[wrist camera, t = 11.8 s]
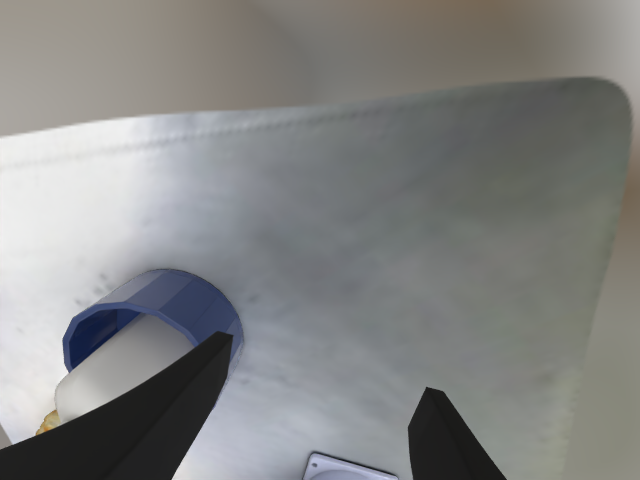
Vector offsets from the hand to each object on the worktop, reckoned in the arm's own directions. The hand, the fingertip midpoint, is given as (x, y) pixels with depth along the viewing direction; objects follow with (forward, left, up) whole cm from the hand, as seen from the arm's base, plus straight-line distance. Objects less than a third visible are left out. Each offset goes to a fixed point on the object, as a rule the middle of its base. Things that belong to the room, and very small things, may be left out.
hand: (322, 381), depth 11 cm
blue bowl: (-9, +11, -10) cm, 17 cm away
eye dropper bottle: (-9, +11, -10) cm, 17 cm away
